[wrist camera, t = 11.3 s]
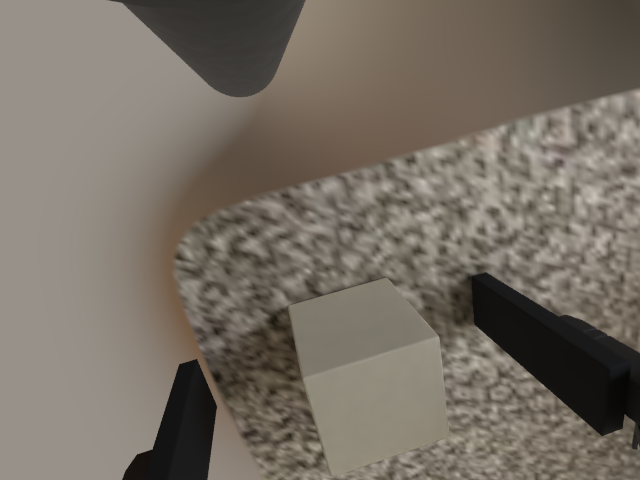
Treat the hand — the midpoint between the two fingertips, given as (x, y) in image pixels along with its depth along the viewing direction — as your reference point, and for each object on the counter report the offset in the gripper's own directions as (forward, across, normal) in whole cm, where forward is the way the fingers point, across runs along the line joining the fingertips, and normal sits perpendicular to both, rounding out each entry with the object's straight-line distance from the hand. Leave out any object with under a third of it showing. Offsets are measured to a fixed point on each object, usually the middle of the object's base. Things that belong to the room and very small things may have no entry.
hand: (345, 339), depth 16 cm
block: (0, 0, 0) cm, 0 cm away
